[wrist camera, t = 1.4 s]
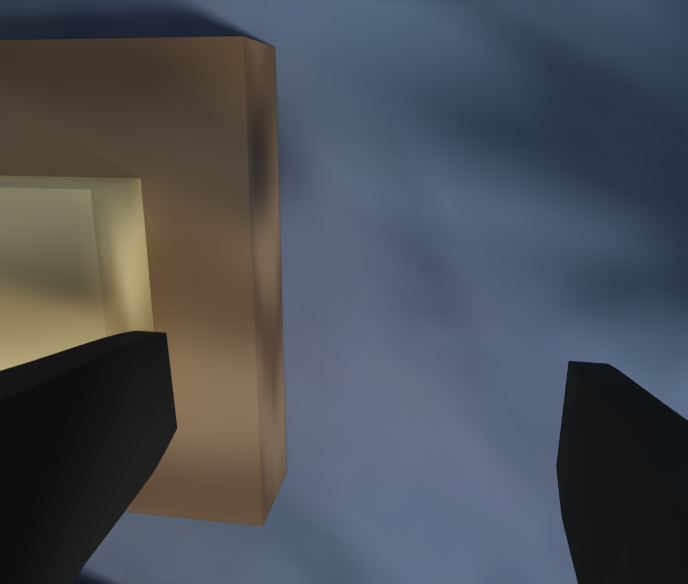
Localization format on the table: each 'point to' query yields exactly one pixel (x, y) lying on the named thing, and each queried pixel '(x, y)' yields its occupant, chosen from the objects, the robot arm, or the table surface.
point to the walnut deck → (180, 234)
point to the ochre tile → (70, 264)
